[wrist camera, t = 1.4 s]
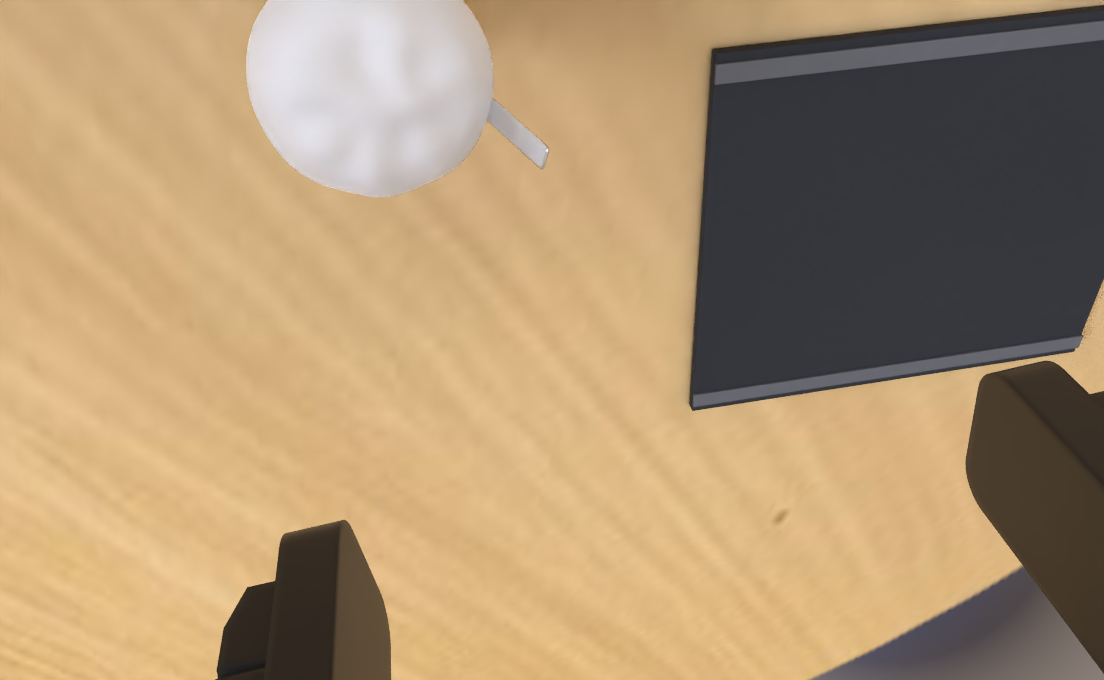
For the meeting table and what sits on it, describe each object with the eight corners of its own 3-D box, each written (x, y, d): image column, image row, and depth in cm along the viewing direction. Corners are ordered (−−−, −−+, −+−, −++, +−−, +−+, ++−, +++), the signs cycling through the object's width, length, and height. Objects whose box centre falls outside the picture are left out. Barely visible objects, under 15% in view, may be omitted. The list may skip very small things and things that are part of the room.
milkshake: (466, 77, 25) (514, 265, 17) (269, 34, 23) (224, 221, 16) (505, -93, 22) (583, 38, 15) (288, -154, 21) (246, -44, 13)
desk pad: (689, 404, 34) (692, 412, 34) (712, 48, 26) (717, 54, 25) (1068, 346, 36) (1076, 353, 36) (1209, -7, 27) (1221, -2, 27)
